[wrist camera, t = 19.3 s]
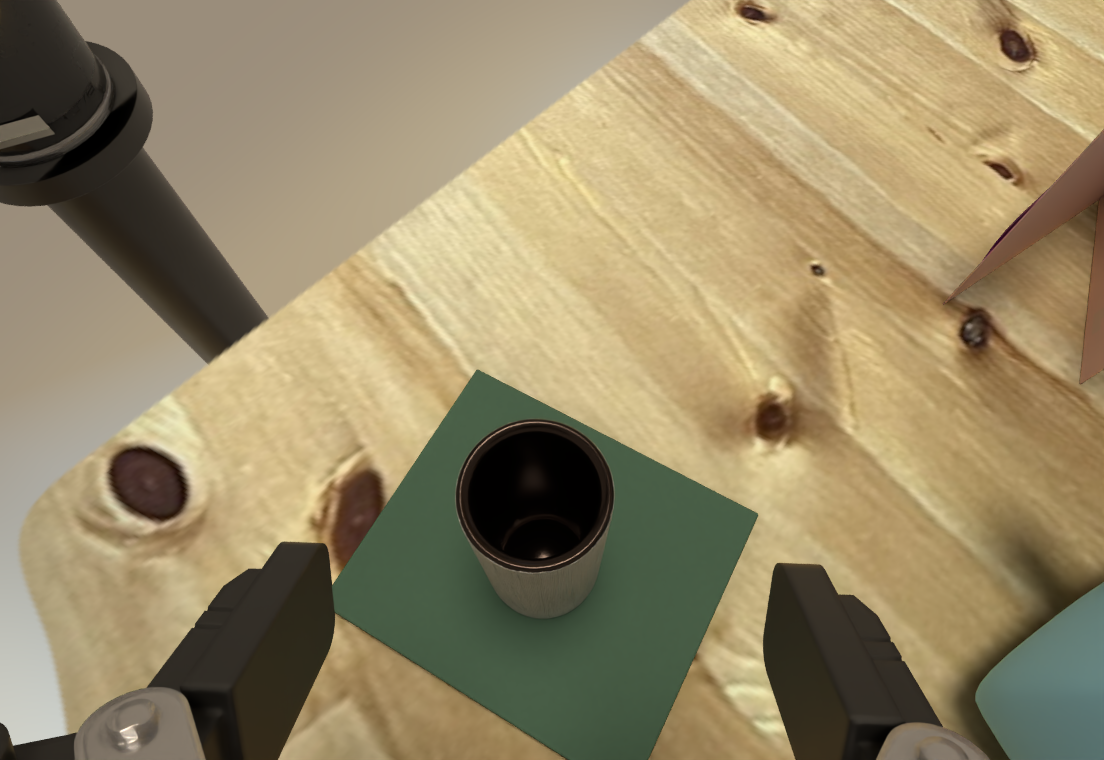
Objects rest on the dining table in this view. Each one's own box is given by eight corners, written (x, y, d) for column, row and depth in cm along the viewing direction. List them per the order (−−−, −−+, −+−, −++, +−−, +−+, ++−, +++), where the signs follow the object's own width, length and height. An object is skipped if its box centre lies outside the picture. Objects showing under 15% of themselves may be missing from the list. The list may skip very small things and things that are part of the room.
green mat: (324, 604, 30) (320, 603, 29) (478, 374, 34) (476, 368, 34) (629, 797, 27) (630, 799, 26) (755, 517, 31) (759, 513, 31)
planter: (565, 641, 28) (566, 604, 19) (467, 584, 29) (423, 522, 20) (617, 540, 30) (642, 460, 21) (523, 489, 31) (506, 391, 22)
